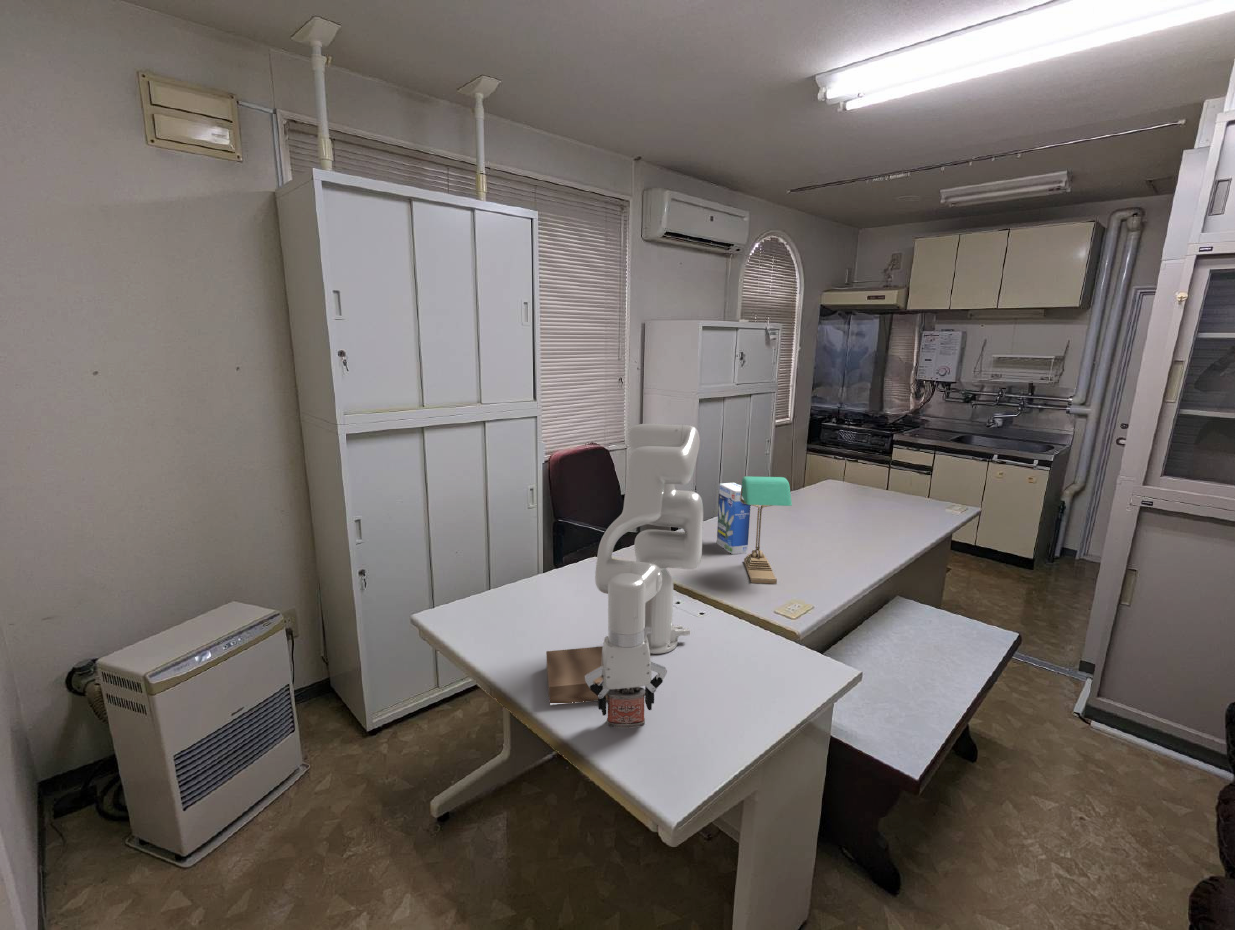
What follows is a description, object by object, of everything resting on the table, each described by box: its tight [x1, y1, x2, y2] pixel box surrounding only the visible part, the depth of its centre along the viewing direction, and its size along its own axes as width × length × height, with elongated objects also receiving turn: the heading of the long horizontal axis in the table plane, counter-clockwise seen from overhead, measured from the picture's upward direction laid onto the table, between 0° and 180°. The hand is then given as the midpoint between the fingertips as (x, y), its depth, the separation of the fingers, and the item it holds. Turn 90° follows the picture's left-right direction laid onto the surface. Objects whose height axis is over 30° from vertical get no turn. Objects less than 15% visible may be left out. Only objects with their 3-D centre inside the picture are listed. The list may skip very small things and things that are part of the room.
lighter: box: [606, 686, 646, 729], centre depth 114 cm, size 8×3×10 cm, turn 92°
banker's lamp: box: [740, 475, 793, 585], centre depth 191 cm, size 16×21×35 cm
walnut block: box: [545, 645, 608, 704], centre depth 128 cm, size 15×15×5 cm
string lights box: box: [716, 482, 751, 555], centre depth 217 cm, size 13×8×26 cm, turn 17°
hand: (626, 708), depth 114 cm, fingers open, 9 cm apart
